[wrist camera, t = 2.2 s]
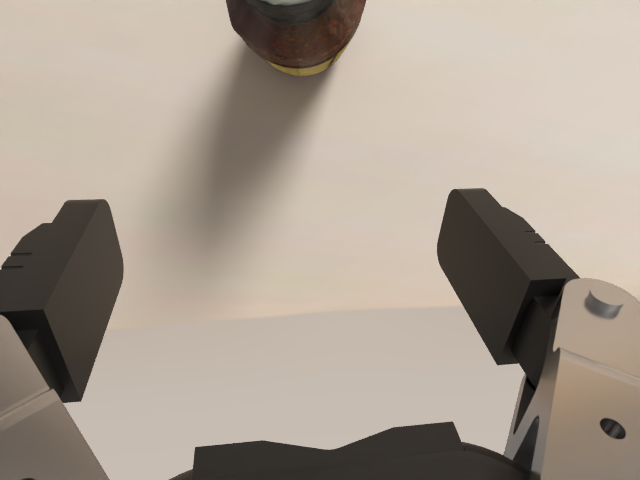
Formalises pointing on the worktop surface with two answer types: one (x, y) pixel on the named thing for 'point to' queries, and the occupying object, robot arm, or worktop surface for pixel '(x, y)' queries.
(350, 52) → the worktop surface
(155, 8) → the worktop surface
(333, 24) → the sauce bottle
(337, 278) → the worktop surface
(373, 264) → the worktop surface
